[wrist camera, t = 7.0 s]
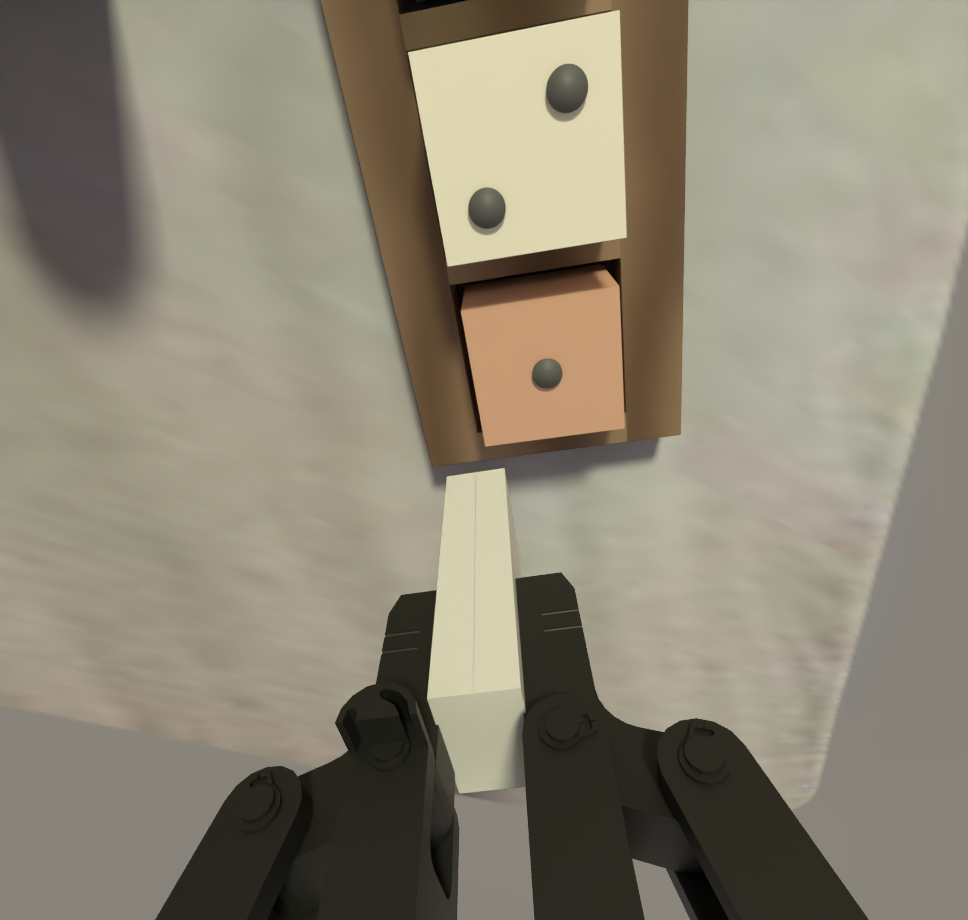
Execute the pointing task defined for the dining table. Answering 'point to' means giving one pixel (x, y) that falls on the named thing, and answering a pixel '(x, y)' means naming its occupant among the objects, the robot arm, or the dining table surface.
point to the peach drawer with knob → (546, 354)
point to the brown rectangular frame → (432, 284)
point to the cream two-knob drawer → (525, 138)
